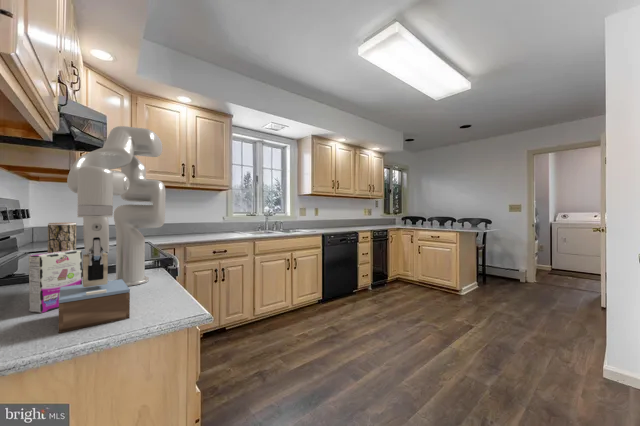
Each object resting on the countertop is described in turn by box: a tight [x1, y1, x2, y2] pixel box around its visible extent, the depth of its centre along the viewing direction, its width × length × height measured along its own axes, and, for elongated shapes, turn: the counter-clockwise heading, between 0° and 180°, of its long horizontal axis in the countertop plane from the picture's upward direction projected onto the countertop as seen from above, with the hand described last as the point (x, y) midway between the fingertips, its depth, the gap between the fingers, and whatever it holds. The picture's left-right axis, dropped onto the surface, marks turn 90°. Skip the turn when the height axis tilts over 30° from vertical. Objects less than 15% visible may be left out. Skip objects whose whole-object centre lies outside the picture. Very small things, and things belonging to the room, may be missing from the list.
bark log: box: [47, 222, 77, 253], centre depth 89 cm, size 7×7×25 cm
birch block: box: [82, 252, 109, 287], centre depth 75 cm, size 5×5×8 cm
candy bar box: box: [28, 249, 83, 314], centre depth 82 cm, size 11×5×16 cm, turn 168°
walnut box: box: [58, 291, 131, 334], centre depth 75 cm, size 15×14×7 cm
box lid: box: [59, 279, 131, 303], centre depth 75 cm, size 15×14×1 cm
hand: (95, 277), depth 75 cm, fingers closed on birch block, 5 cm apart
